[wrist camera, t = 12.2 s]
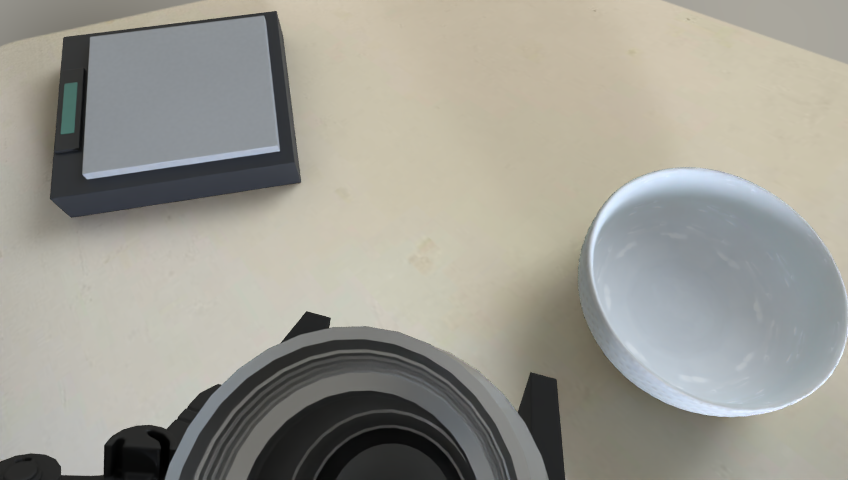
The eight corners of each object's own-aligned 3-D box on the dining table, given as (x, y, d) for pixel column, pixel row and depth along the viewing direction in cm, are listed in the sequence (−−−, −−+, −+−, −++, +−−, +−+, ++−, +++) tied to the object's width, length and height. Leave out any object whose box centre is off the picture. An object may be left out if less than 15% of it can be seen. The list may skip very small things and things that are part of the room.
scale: (70, 217, 46) (43, 193, 43) (80, 61, 53) (58, 29, 49) (301, 182, 48) (293, 156, 45) (283, 36, 55) (274, 3, 51)
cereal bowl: (835, 376, 42) (911, 351, 36) (633, 467, 39) (677, 458, 33) (704, 184, 49) (748, 134, 42) (523, 250, 46) (541, 207, 39)
